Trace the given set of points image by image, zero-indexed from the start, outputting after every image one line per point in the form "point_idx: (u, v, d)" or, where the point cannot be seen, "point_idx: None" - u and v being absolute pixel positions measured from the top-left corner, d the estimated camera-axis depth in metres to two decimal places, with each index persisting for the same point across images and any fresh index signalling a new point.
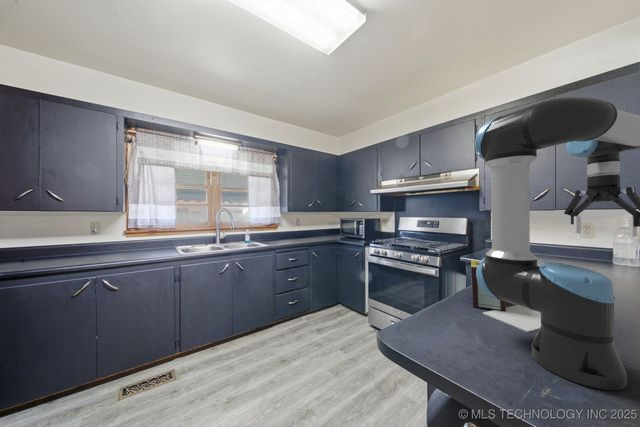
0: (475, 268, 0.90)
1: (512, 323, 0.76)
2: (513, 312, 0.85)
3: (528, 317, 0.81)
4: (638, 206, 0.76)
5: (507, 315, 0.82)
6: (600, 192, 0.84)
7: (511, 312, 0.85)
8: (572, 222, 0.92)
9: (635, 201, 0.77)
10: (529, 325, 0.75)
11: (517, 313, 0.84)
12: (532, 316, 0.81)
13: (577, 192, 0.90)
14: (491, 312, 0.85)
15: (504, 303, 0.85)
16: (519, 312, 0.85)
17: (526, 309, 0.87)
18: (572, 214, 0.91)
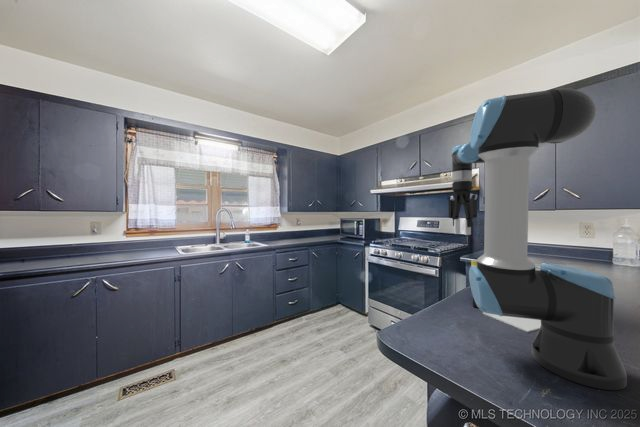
0: None
1: (512, 323, 0.76)
2: None
3: None
4: (471, 211, 0.99)
5: None
6: (459, 195, 1.04)
7: None
8: (453, 224, 1.08)
9: (471, 206, 0.99)
10: (529, 325, 0.75)
11: None
12: None
13: (448, 198, 1.09)
14: None
15: None
16: None
17: None
18: (453, 217, 1.07)
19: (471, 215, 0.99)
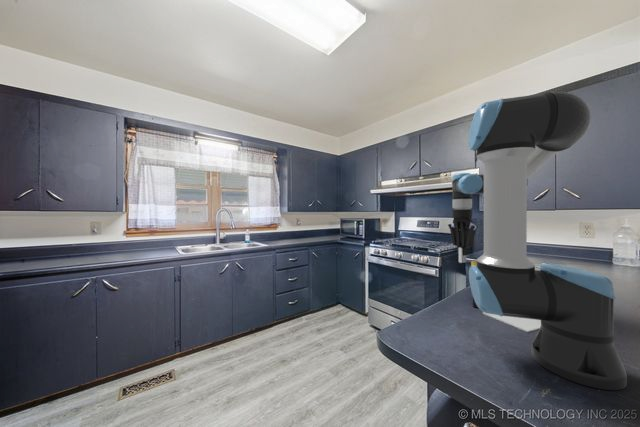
0: None
1: (512, 323, 0.76)
2: None
3: None
4: (467, 240, 1.01)
5: None
6: (459, 222, 1.04)
7: None
8: (458, 252, 1.06)
9: (468, 236, 1.00)
10: (529, 325, 0.75)
11: None
12: None
13: (449, 225, 1.09)
14: None
15: None
16: None
17: None
18: (457, 245, 1.05)
19: (466, 244, 1.01)
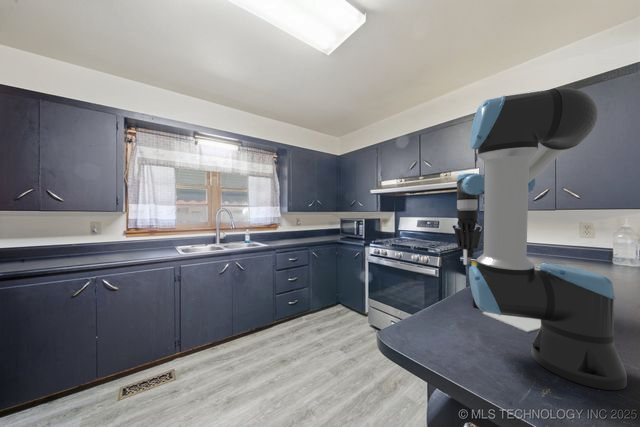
0: None
1: (512, 323, 0.76)
2: None
3: None
4: (472, 241, 0.98)
5: None
6: (464, 224, 1.02)
7: None
8: (463, 254, 1.03)
9: (474, 238, 0.98)
10: (529, 325, 0.75)
11: None
12: None
13: (453, 227, 1.07)
14: None
15: None
16: None
17: None
18: (462, 247, 1.03)
19: (472, 246, 0.99)
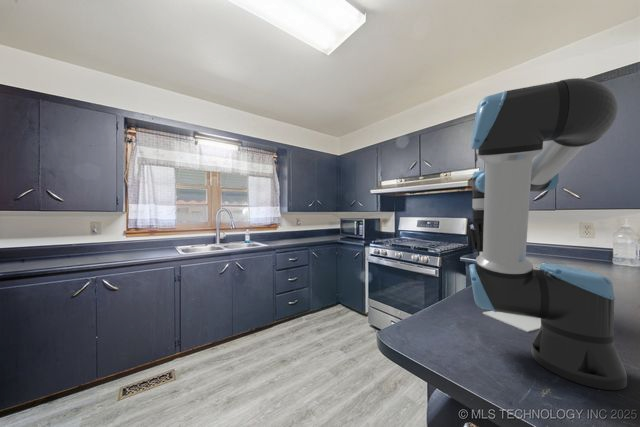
0: None
1: (512, 323, 0.76)
2: None
3: (528, 317, 0.81)
4: None
5: (507, 315, 0.82)
6: (481, 224, 0.95)
7: None
8: None
9: None
10: (529, 325, 0.75)
11: None
12: None
13: (468, 227, 1.00)
14: (491, 312, 0.85)
15: None
16: None
17: None
18: (478, 249, 0.96)
19: None
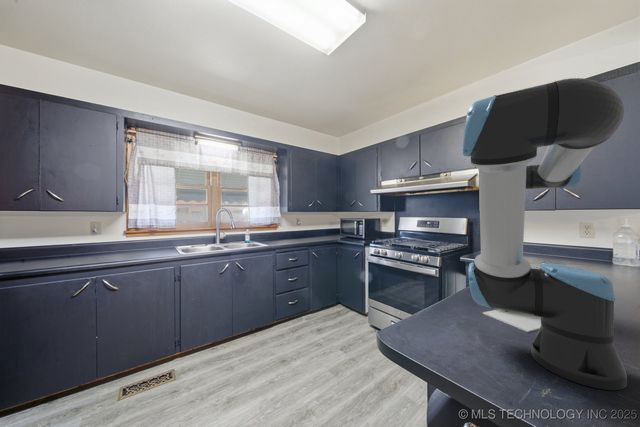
0: None
1: (512, 323, 0.76)
2: (513, 312, 0.85)
3: (528, 317, 0.81)
4: None
5: (507, 315, 0.82)
6: None
7: (511, 312, 0.85)
8: None
9: None
10: (529, 325, 0.75)
11: (517, 313, 0.84)
12: (532, 316, 0.81)
13: None
14: (491, 312, 0.85)
15: None
16: None
17: None
18: None
19: None
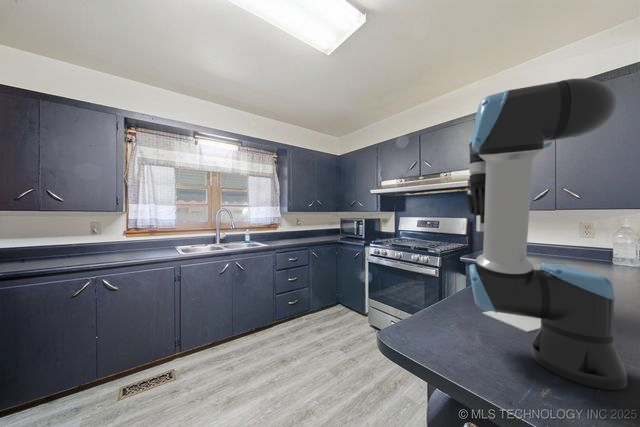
0: None
1: (512, 323, 0.76)
2: None
3: (528, 317, 0.81)
4: None
5: (507, 315, 0.82)
6: (478, 188, 0.97)
7: None
8: (475, 221, 0.98)
9: None
10: (529, 325, 0.75)
11: None
12: None
13: (465, 193, 1.02)
14: (491, 312, 0.85)
15: None
16: None
17: None
18: (475, 213, 0.98)
19: None
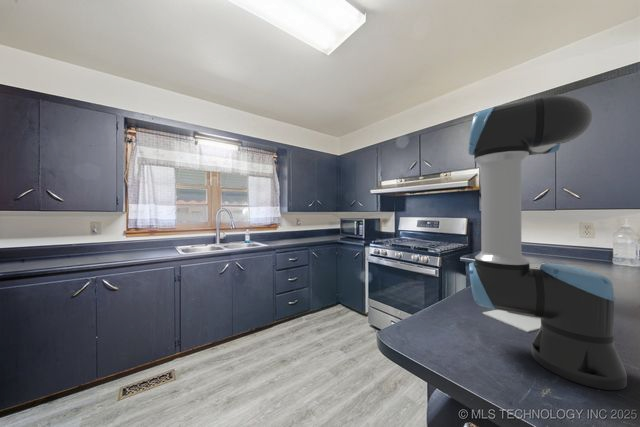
0: None
1: (512, 323, 0.76)
2: None
3: (528, 317, 0.81)
4: None
5: (507, 315, 0.82)
6: None
7: None
8: None
9: None
10: (529, 325, 0.75)
11: None
12: (532, 316, 0.81)
13: (480, 194, 1.09)
14: (491, 312, 0.85)
15: None
16: None
17: None
18: None
19: None
